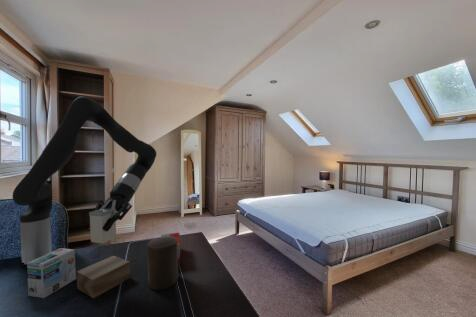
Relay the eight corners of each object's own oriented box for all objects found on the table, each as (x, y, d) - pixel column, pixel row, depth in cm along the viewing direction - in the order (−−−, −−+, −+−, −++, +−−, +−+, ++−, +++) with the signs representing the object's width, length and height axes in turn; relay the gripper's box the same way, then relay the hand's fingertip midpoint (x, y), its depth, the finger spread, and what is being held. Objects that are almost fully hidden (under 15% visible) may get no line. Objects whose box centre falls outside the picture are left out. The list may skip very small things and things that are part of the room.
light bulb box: (44, 299, 64) (42, 264, 64) (27, 296, 66) (25, 262, 66) (77, 278, 75) (75, 248, 75) (61, 276, 76) (60, 247, 76)
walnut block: (77, 289, 69) (76, 271, 69) (114, 271, 80) (113, 255, 79) (93, 299, 64) (92, 279, 64) (130, 278, 75) (129, 261, 74)
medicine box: (161, 251, 95) (160, 234, 94) (180, 248, 97) (179, 231, 97) (158, 269, 80) (157, 248, 80) (180, 265, 82) (180, 245, 82)
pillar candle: (166, 292, 66) (165, 245, 66) (141, 287, 69) (140, 242, 69) (183, 275, 75) (182, 234, 75) (160, 271, 78) (159, 231, 78)
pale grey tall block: (90, 241, 70) (89, 212, 70) (105, 235, 75) (103, 208, 75) (102, 243, 68) (101, 213, 68) (116, 237, 74) (115, 209, 73)
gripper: (105, 181, 81) (74, 222, 69) (135, 182, 76) (107, 226, 65) (117, 192, 86) (90, 232, 75) (146, 193, 81) (121, 236, 70)
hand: (98, 229), depth 70 cm, fingers closed on pale grey tall block, 5 cm apart
